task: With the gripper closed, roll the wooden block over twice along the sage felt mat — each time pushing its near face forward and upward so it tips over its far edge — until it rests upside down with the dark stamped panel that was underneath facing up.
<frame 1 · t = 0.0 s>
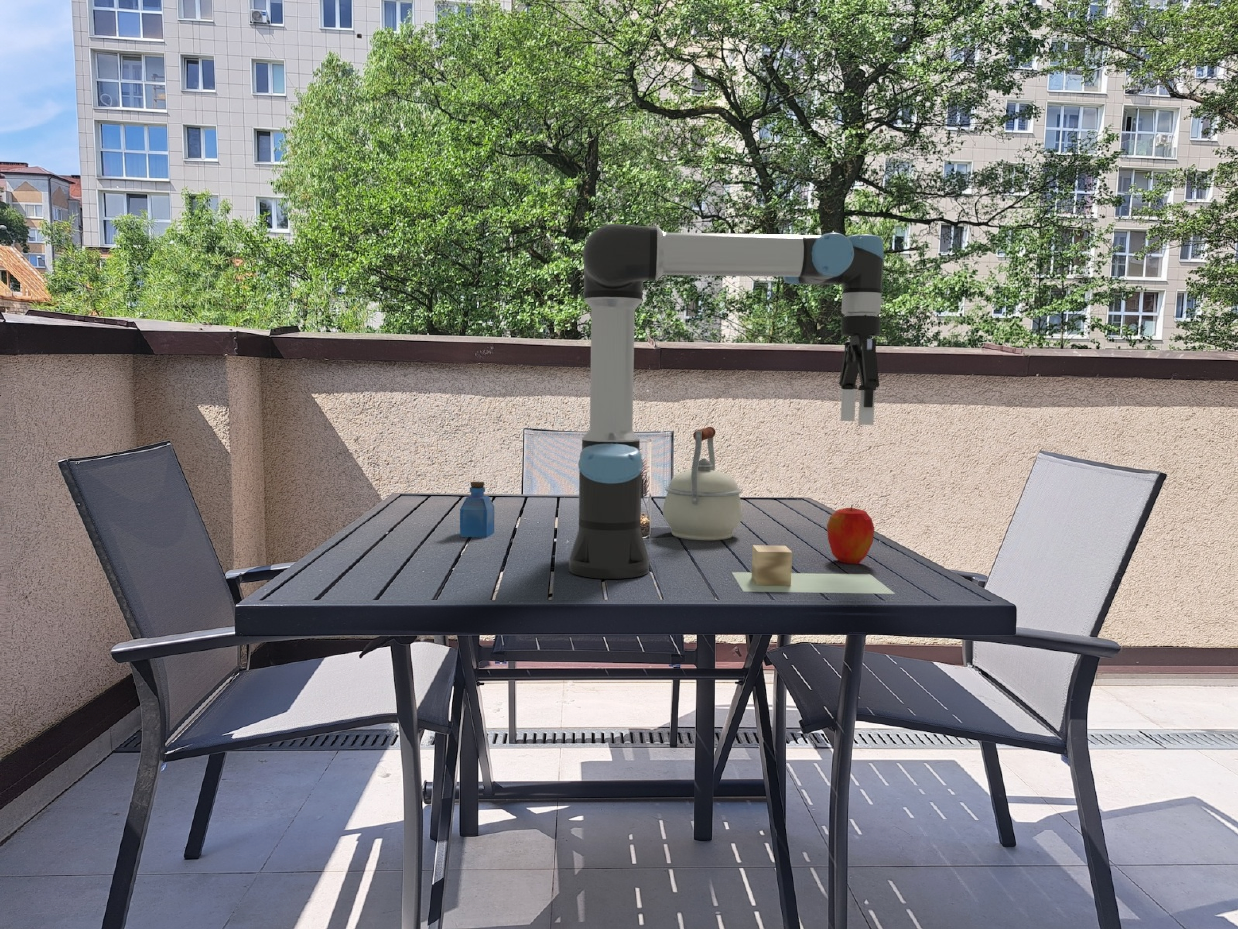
hand: (856, 422, 182), 28 cm above the table, fingers open, 13 cm apart
kettle: (703, 535, 212), on the table
apple: (848, 564, 182), on the table
wooden block: (770, 581, 162), resting on felt mat
blue corked bottle: (477, 535, 207), on the table
felt mat: (809, 584, 163), on the table
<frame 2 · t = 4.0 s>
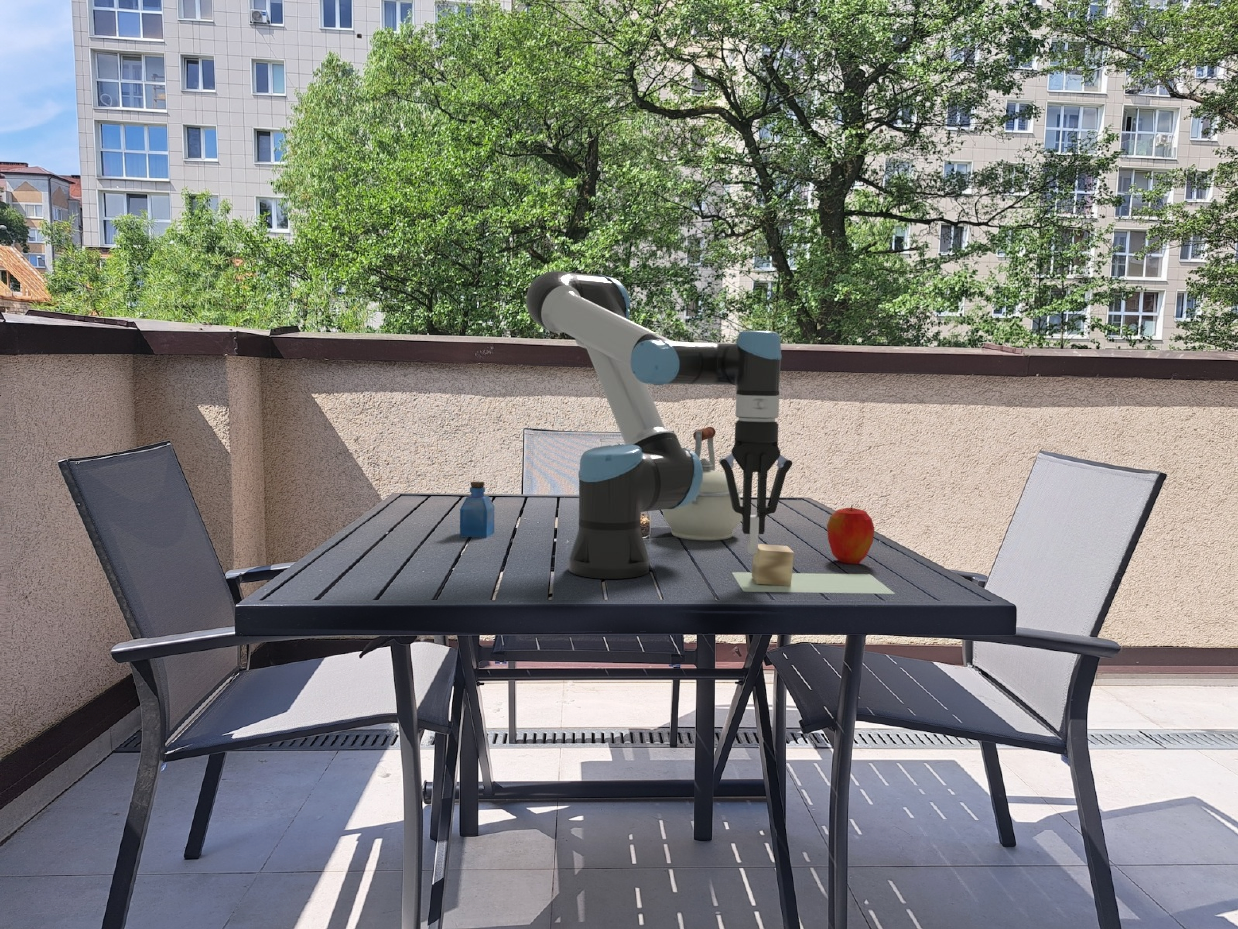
hand: (752, 552, 162), 6 cm above the table, fingers closed
wooden block: (770, 581, 162), point 1 cm above the table, touching felt mat, gripper
everything else where it was.
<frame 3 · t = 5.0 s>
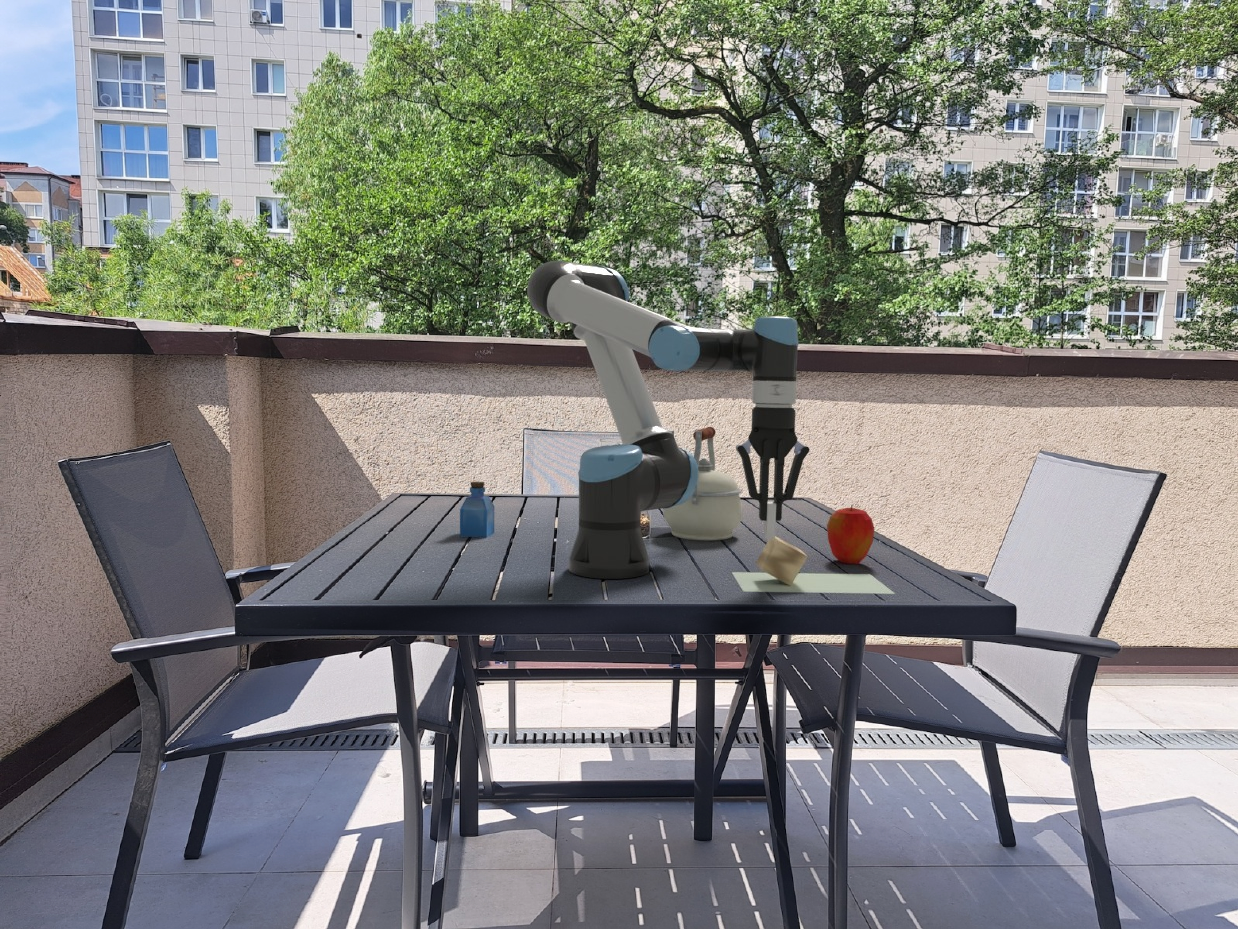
hand: (769, 538, 162), 8 cm above the table, fingers closed
wooden block: (773, 574, 162), point 2 cm above the table, tilted 28°, touching felt mat, gripper
everything else where it was.
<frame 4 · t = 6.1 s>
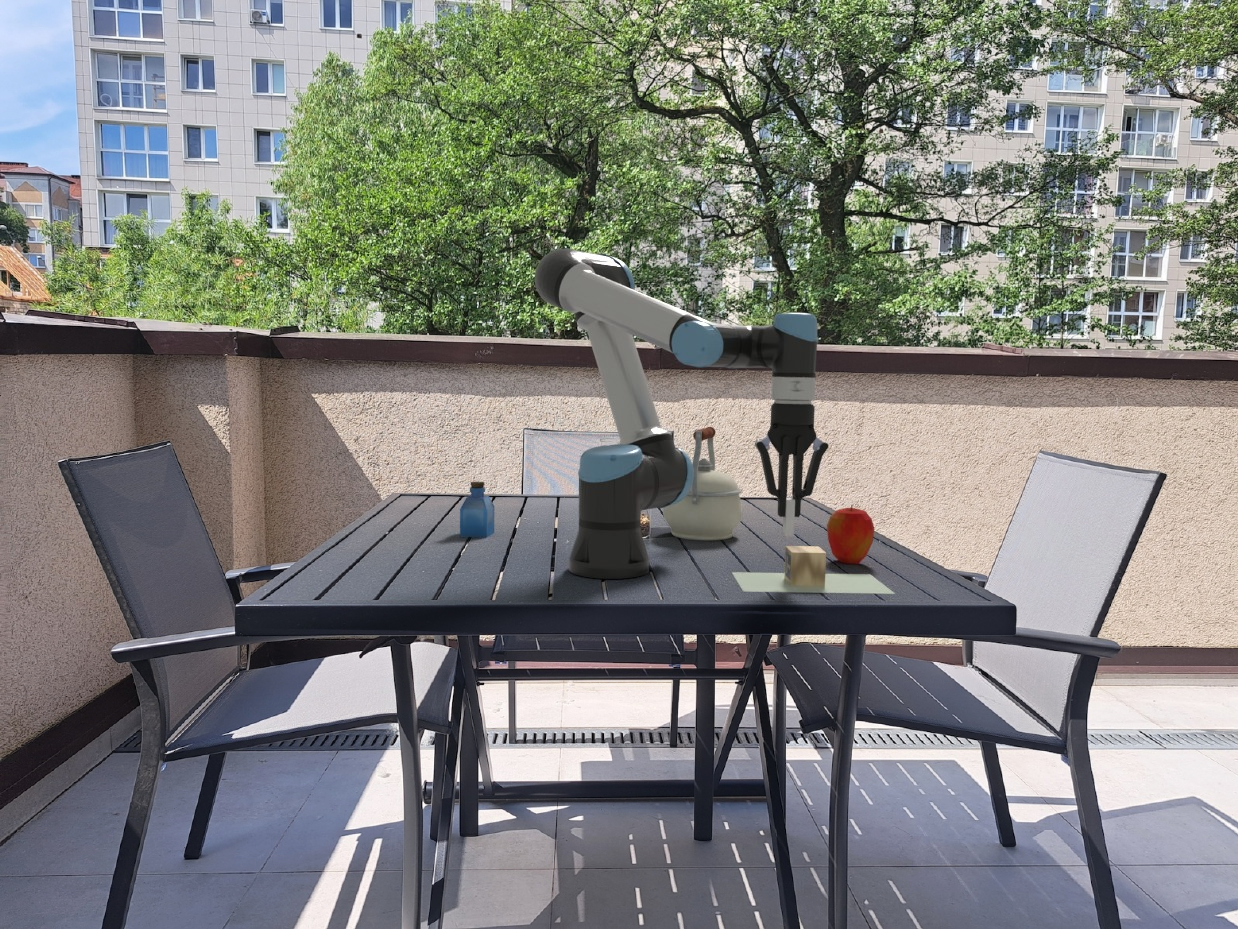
hand: (788, 534, 162), 9 cm above the table, fingers closed
wooden block: (788, 565, 162), point 3 cm above the table, tilted 90°, touching felt mat
everything else where it was.
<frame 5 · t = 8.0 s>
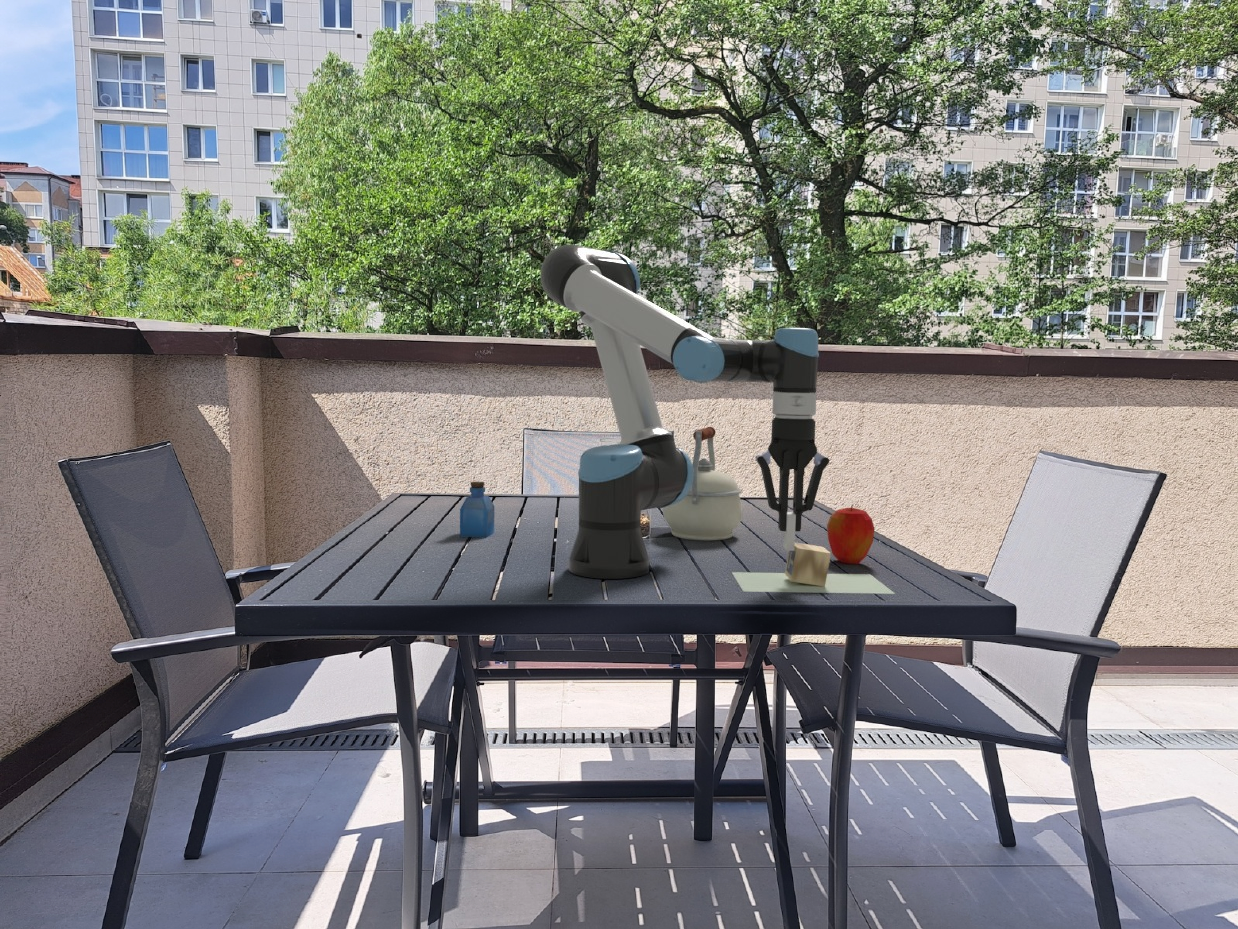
hand: (788, 549, 162), 6 cm above the table, fingers closed
wooden block: (791, 561, 162), point 4 cm above the table, tilted 98°, touching felt mat, gripper
everything else where it was.
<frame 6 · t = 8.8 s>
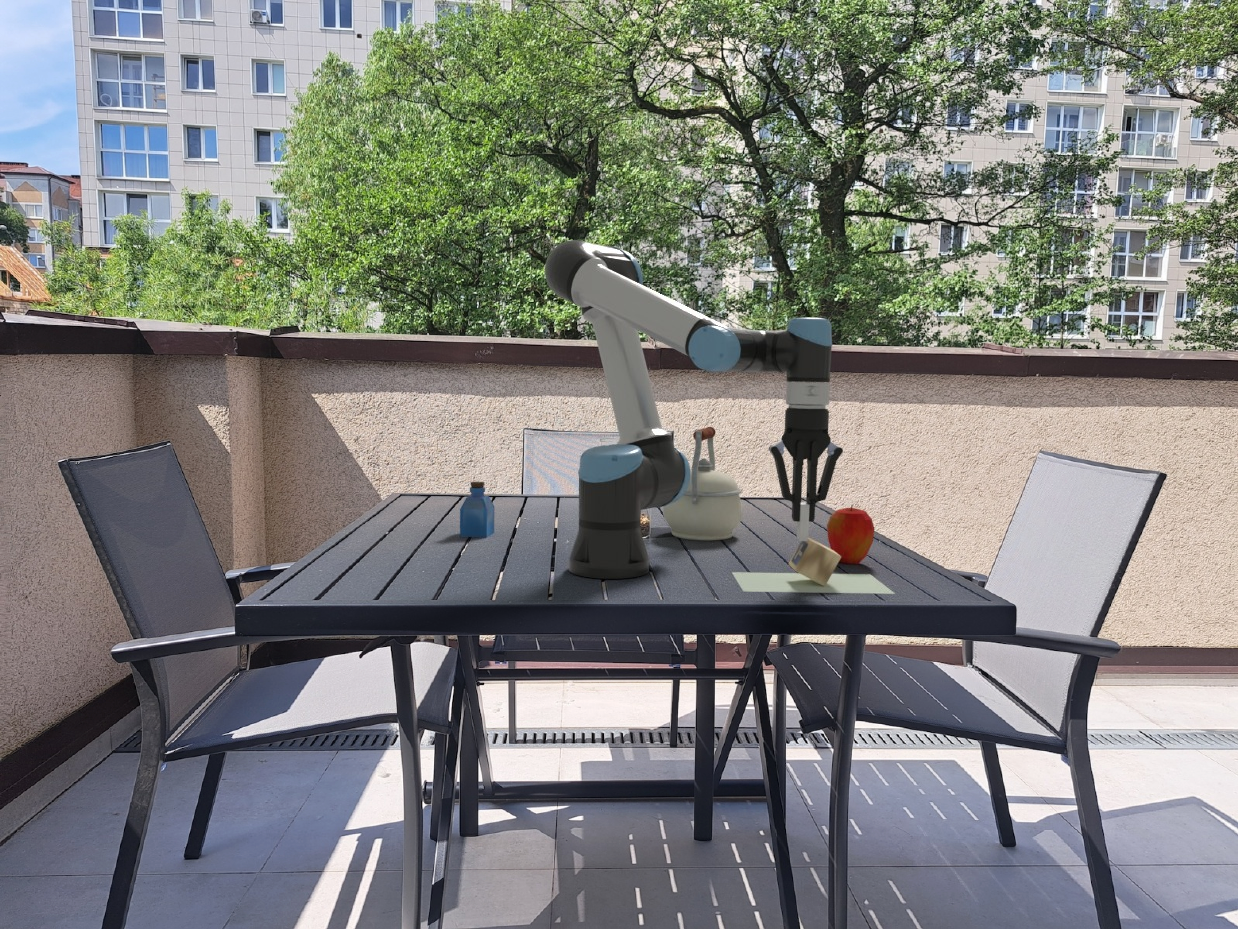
hand: (802, 539, 162), 8 cm above the table, fingers closed
wooden block: (799, 552, 162), point 6 cm above the table, tilted 117°, touching felt mat, gripper
everything else where it was.
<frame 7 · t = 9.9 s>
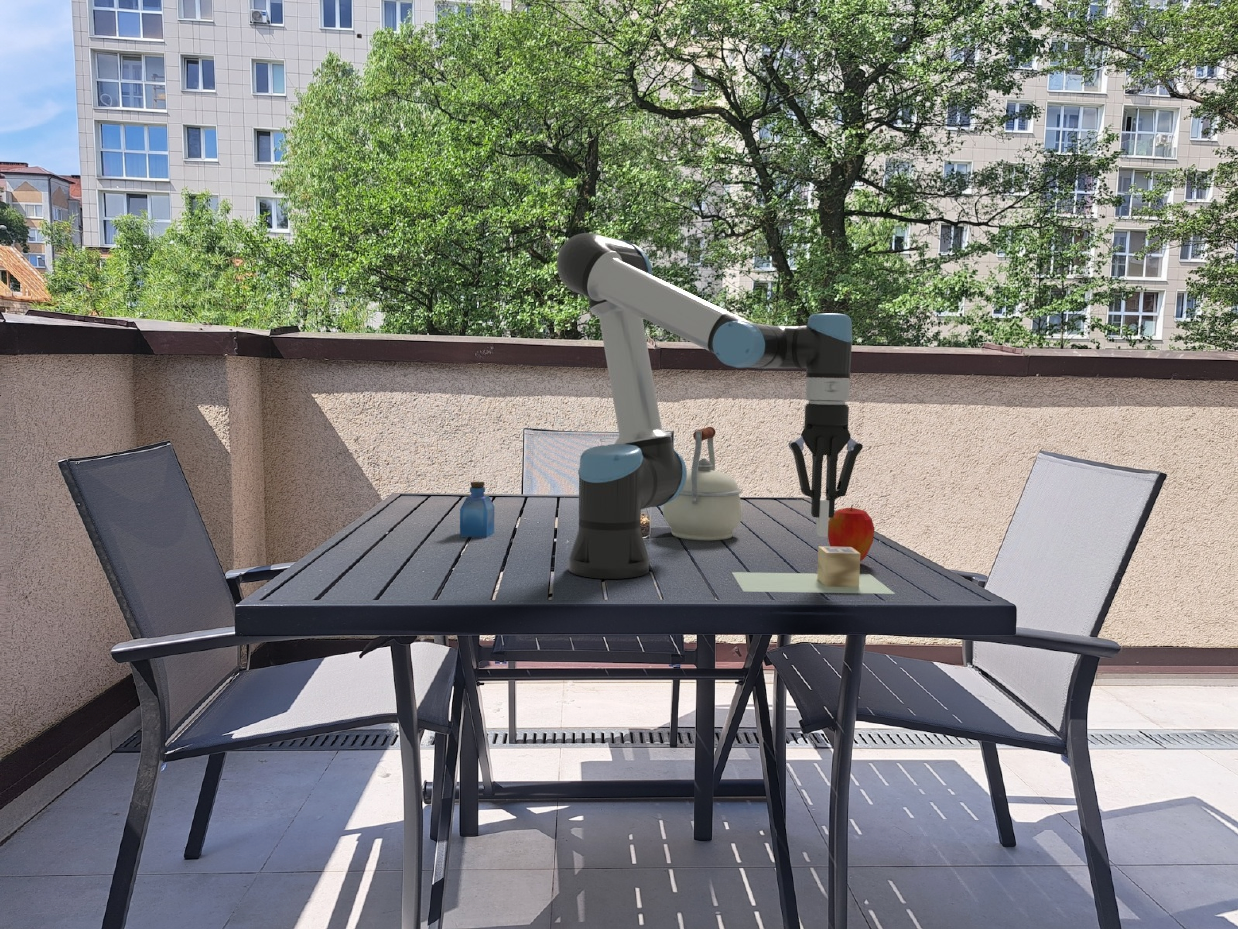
hand: (821, 535, 162), 9 cm above the table, fingers closed
wooden block: (839, 549, 162), point 6 cm above the table, tilted 180°, touching felt mat
everything else where it was.
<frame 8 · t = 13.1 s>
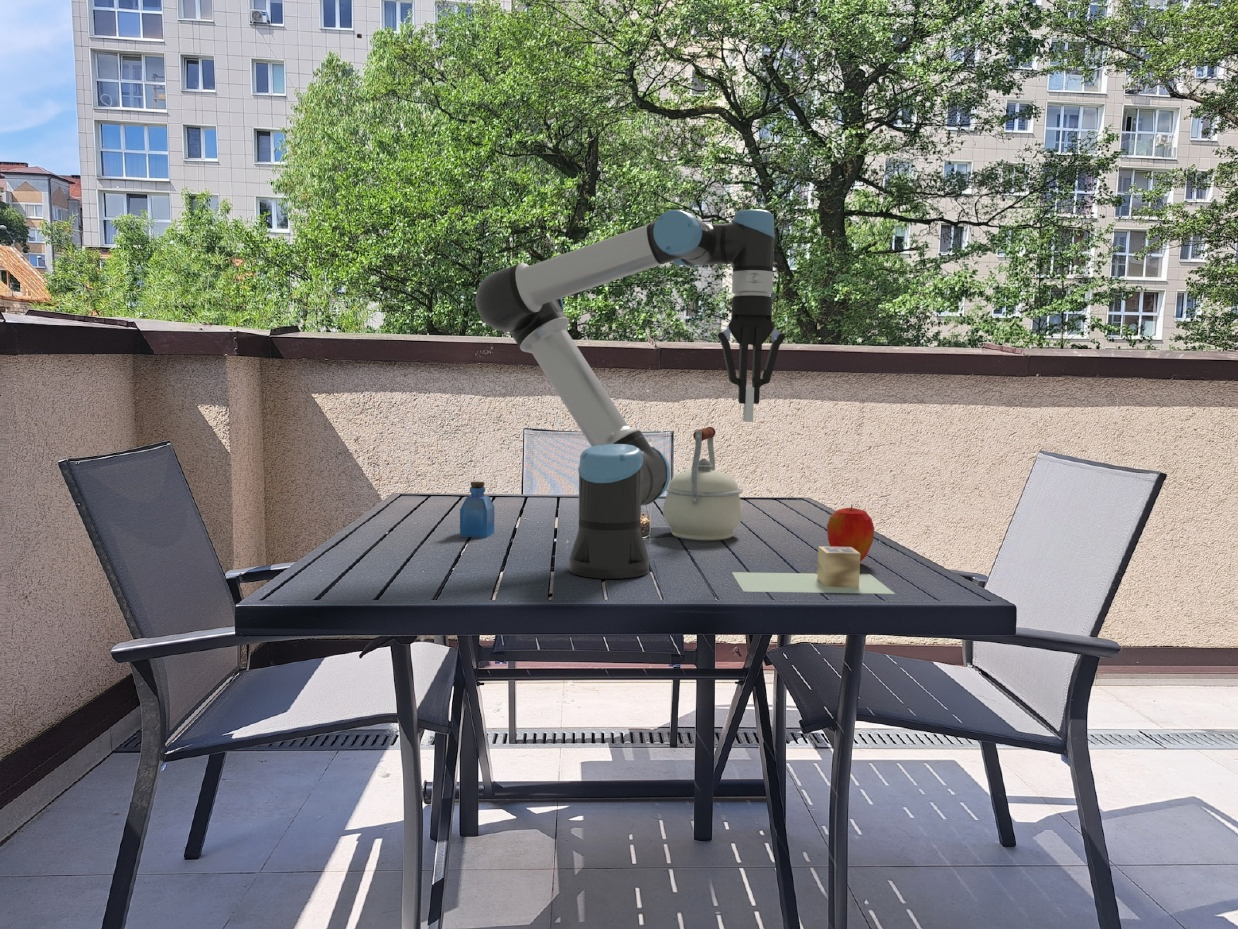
hand: (748, 421, 173), 28 cm above the table, fingers closed
nothing on the table moved.
at the end: wooden block inside the target area (1.5 cm from its centre), point 6.4 cm above the table; wooden block tilted 180° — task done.
